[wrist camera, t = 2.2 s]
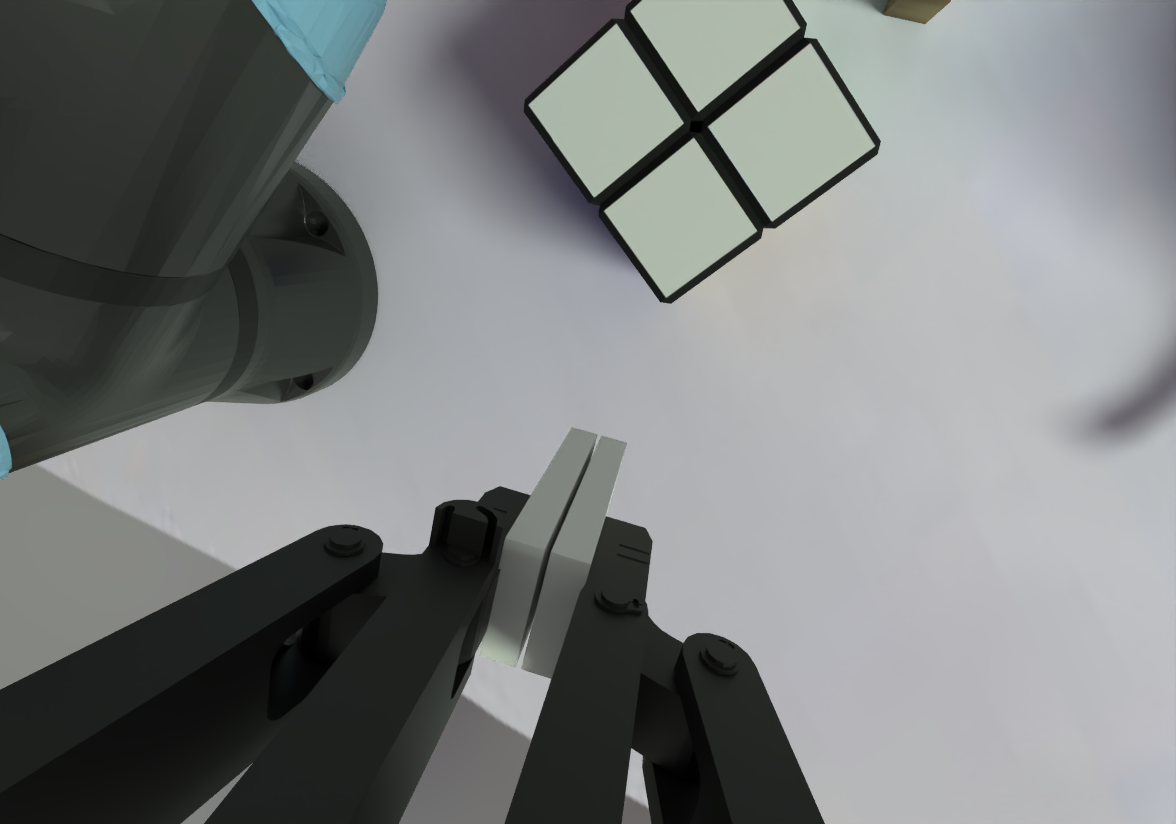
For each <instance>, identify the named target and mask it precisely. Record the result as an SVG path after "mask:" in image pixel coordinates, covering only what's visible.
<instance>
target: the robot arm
mask: <svg viewBox="0 0 1176 824" xmlns="http://www.w3.org/2000/svg"><path fill="white" fill-rule="evenodd" d="M386 1H387V0H0V480H3V479H4V478H5V477H7V476H8V473H11V472H14V471H16V470H19V469H22V468H25V467H27V466H30V465H33V464H36V463H38V462H41V461H44V460H47V459H49V458H52V457H55V456H58V455H60V454H63V453H66V452H69V451H71V450H74V449H77V448H80V447H82V446H85V445H88V444H91V443H93V442H96V441H99V440H102V439H104V438H107V437H110V436H113V435H116V434H118V433H121V432H124V431H127V430H129V429H132V428H135V427H138V426H140V425H143V424H146V423H149V422H151V421H154V420H157V419H160V418H162V417H165V416H168V415H171V414H173V413H176V412H179V411H182V410H184V409H187V408H189V407H192V406H195V405H198V404H200V403H203V402H230V403H254V404H275V403H283V402H288V401H293V400H296V399H300V398H303V397H305V396H307V395H310V394H312V393H314V392H317V391H319V390H321V389H324V388H326V387H328V386H330V385H332V384H333V383H335V382H336V381H338V380H339V379H341V378H342V377H343V376H344V375H345V374H347V373H348V372H349V371H350V370H351V369H352V367H353V366H354V365H355V364H356V363H357V361H358V360H359V359H360V357H361V356H362V354H363V352H364V351H365V349H366V347H367V345H368V342H369V340H370V338H371V335H372V332H373V329H374V324H375V320H376V314H377V305H378V286H377V277H376V271H375V265H374V262H373V258H372V254H371V251H370V248H369V245H368V243H367V240H366V238H365V236H364V234H363V232H362V229H361V227H360V226H359V224H358V222H357V220H356V219H355V217H354V216H353V214H352V212H351V211H350V210H349V208H348V207H347V205H346V204H345V203H344V202H343V200H342V199H341V198H340V197H339V196H338V195H337V194H336V193H335V191H334V190H333V189H332V188H331V187H329V186H328V185H327V184H326V183H325V182H324V181H323V180H321V179H320V178H319V177H318V176H316V175H315V174H313V173H312V172H310V171H309V170H307V169H306V168H304V167H302V166H301V165H299V164H297V163H294V161H295V160H296V158H297V157H298V155H299V154H300V152H301V150H302V149H303V147H304V146H305V144H306V142H307V141H308V139H309V138H310V136H311V135H312V133H313V132H314V130H315V129H316V127H317V126H318V124H319V123H320V121H321V120H322V118H323V117H324V115H325V114H326V112H327V111H328V109H329V108H330V106H331V105H332V103H333V102H335V103H337V104H338V103H339V101H340V100H341V99H342V98H343V97H344V95H345V93H346V92H345V85H344V84H345V82H346V80H347V78H348V76H349V74H350V73H351V71H352V69H353V67H354V65H355V64H356V62H357V60H358V58H359V56H360V54H361V53H362V51H363V49H364V47H365V45H366V43H367V42H368V40H369V38H370V36H371V34H372V33H373V31H374V29H375V27H376V25H377V23H378V22H379V20H380V18H381V16H382V14H383V12H384V9H385V6H386ZM596 438H597V434H594V433H590V432H587V431H584V430H580V429H577V428H573V427H572V428H571V430H570V431H569V433H568V435H567V436H566V438H565V440H564V441H563V443H562V445H561V446H560V448H559V450H558V451H557V453H556V455H555V456H554V458H553V460H552V461H551V463H550V465H549V466H548V468H547V470H546V471H545V473H544V475H543V476H542V478H541V480H540V481H539V483H538V485H537V486H536V488H535V490H534V491H533V493H532V494H531V495H528V494H524V493H521V492H518V491H514V490H511V489H507V488H504V487H501V486H500V487H497V488H495V489H493V490H490V491H488V492H485V493H484V495H483V496H482V497H481V499H480V500H479V501H478V502H476V501H471V500H452V501H448V502H444V503H442V504H440V505H439V506H437V507H436V509H435V514H434V520H433V525H432V531H431V537H430V542H429V546H428V547H427V548H426V550H425V551H424V552H423V553H422V554H416V555H404V554H393V553H382V549H383V542H382V540H381V538H380V537H379V536H378V535H377V534H375V533H374V532H373V531H371V530H369V529H366V528H363V527H360V526H355V525H335V526H328V527H325V528H322V529H320V530H317V531H315V532H313V533H311V534H309V535H307V536H305V537H303V538H301V539H299V540H297V541H295V542H293V543H291V544H289V545H287V546H285V547H283V548H281V549H279V550H277V551H275V552H273V553H271V554H269V555H267V556H265V557H263V558H261V559H259V560H257V561H255V562H253V563H251V564H249V565H247V566H245V567H243V568H241V569H239V570H237V571H235V572H233V573H231V574H229V575H228V576H226V577H224V578H222V579H219V580H217V581H216V582H214V583H212V584H210V585H208V586H206V587H204V588H202V589H200V590H198V591H196V592H194V593H192V594H190V595H188V596H186V597H184V598H182V599H180V600H178V601H176V602H174V603H172V604H170V605H168V606H166V607H164V608H162V609H160V610H158V611H156V612H154V613H152V614H150V615H148V616H146V617H144V618H142V619H140V620H138V621H136V622H134V623H132V624H130V625H128V626H126V627H124V628H122V629H120V630H118V631H116V632H114V633H112V634H110V635H108V636H106V637H104V638H102V639H101V640H98V641H96V642H94V643H92V644H90V645H88V646H86V647H84V648H82V649H80V650H78V651H76V652H74V653H72V654H70V655H68V656H66V657H64V658H62V659H61V660H59V661H57V662H55V663H53V664H51V665H49V666H47V667H45V668H43V669H41V670H39V671H37V672H35V673H33V674H31V675H29V676H27V677H25V678H23V679H21V680H19V681H17V682H15V683H13V684H11V685H9V686H7V687H5V688H3V689H1V690H0V824H181V823H182V822H183V821H184V820H185V819H187V818H188V817H189V816H190V815H191V814H193V813H194V812H195V811H196V810H197V809H198V808H199V807H201V806H202V805H203V804H204V803H206V802H207V801H208V800H209V799H210V798H211V797H213V796H214V795H215V794H216V793H217V792H219V791H220V790H221V789H222V788H223V787H224V786H226V785H227V784H228V783H229V782H230V781H232V780H233V779H234V778H235V777H236V776H238V775H239V774H240V773H241V772H242V771H243V770H245V769H246V768H247V767H248V766H249V765H251V764H252V763H253V764H252V765H251V766H250V767H249V769H248V770H247V771H246V772H245V774H244V775H243V776H242V777H241V779H240V780H239V781H238V782H237V784H236V785H235V786H234V787H233V788H232V790H231V791H230V792H229V793H228V795H227V796H226V797H225V798H224V800H223V801H222V802H221V803H220V805H219V806H218V807H217V808H216V810H215V811H214V812H213V813H212V815H211V816H210V817H209V818H208V819H207V821H206V822H205V823H204V824H399V822H400V820H401V817H402V815H403V813H404V811H405V809H406V807H407V805H408V803H409V801H410V799H411V797H412V795H413V793H414V791H415V788H416V786H417V784H418V782H419V780H420V778H421V776H422V774H423V772H424V770H425V768H426V765H427V763H428V761H429V759H430V757H431V755H432V753H433V751H434V749H435V747H436V745H437V743H438V741H439V739H440V736H441V734H442V732H443V730H444V728H445V726H446V724H447V722H448V720H449V718H450V716H451V714H452V712H453V709H454V707H455V705H456V703H457V701H458V699H459V697H460V695H461V693H462V691H463V689H464V687H465V685H466V682H467V680H468V678H469V676H470V674H471V670H472V665H473V661H474V656H475V653H476V651H477V649H478V647H479V645H480V643H481V641H482V644H481V649H480V653H479V655H480V656H483V657H486V658H489V659H492V660H495V661H498V662H501V663H504V664H507V665H510V666H514V667H516V664H517V662H518V659H519V657H520V654H521V652H522V649H523V647H524V644H525V642H526V639H527V637H528V634H529V632H530V629H531V627H532V629H531V632H530V636H529V640H528V644H527V648H526V652H525V656H524V660H523V664H522V668H521V669H523V670H526V671H529V672H532V673H535V674H538V675H541V676H544V677H548V678H551V682H550V685H549V689H548V692H547V695H546V698H545V701H544V704H543V707H542V710H541V713H540V716H539V719H538V722H537V725H536V729H535V732H534V735H533V738H532V741H531V744H530V747H529V750H528V753H527V756H526V759H525V763H524V765H523V769H522V772H521V775H520V778H519V781H518V784H517V787H516V790H515V793H514V796H513V799H512V802H511V805H510V808H509V812H508V815H507V818H506V821H505V824H621V823H622V815H623V807H624V799H625V792H626V784H627V776H628V768H629V760H630V753H631V748H632V749H634V750H635V751H637V752H638V753H640V754H641V755H643V764H642V768H643V774H644V781H645V787H646V793H647V799H648V805H649V811H650V816H651V823H652V824H825V823H824V821H823V819H822V816H821V814H820V812H819V809H818V807H817V805H816V803H815V800H814V798H813V796H812V793H811V791H810V789H809V787H808V784H807V782H806V780H805V778H804V775H803V773H802V771H801V768H800V766H799V764H798V762H797V759H796V757H795V755H794V752H793V750H792V748H791V746H790V743H789V741H788V739H787V736H786V734H785V732H784V730H783V727H782V725H781V723H780V720H779V718H778V716H777V714H776V711H775V709H774V707H773V704H772V702H771V700H770V698H769V695H768V693H767V691H766V688H765V686H764V684H763V682H762V679H761V677H760V675H759V672H758V670H757V668H756V666H755V664H754V662H753V661H752V659H751V658H750V656H749V655H748V654H747V653H746V652H745V651H744V650H743V649H741V648H740V647H739V646H738V645H737V644H735V643H733V642H731V641H730V640H728V639H726V638H724V637H721V636H717V635H714V634H711V633H696V634H694V635H691V636H689V637H687V639H686V640H685V642H684V643H682V642H680V641H678V640H677V639H675V638H673V637H671V636H670V635H668V634H667V633H665V632H664V631H662V630H661V629H660V628H659V627H658V626H657V625H655V624H654V622H653V621H652V620H651V618H650V617H649V616H648V608H647V603H646V602H645V598H646V590H647V582H648V574H649V564H650V558H651V556H650V555H651V550H652V542H653V541H652V539H651V537H650V536H649V534H648V532H647V530H646V528H643V527H640V526H637V525H633V524H630V523H627V522H623V521H620V520H617V519H613V518H610V517H607V513H608V509H609V505H610V502H611V498H612V495H613V491H614V488H615V484H616V481H617V477H618V474H619V470H620V467H621V463H622V459H623V456H624V452H625V449H626V445H627V443H625V442H622V441H618V440H615V439H611V438H608V437H604V436H601V438H600V440H599V443H598V445H597V447H596V450H595V452H594V454H593V456H592V453H593V449H594V446H595V442H596ZM591 457H592V459H591ZM532 624H533V625H532ZM482 639H483V640H482Z"/></svg>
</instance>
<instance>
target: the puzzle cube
mask: <svg viewBox="0 0 1176 824" xmlns="http://www.w3.org/2000/svg"><path fill="white" fill-rule="evenodd" d="M806 26H807V23H806V22H805V20H804V18H803V17H802V15H801V14H800V12H799V10H798V9H797V7H796V6H795V4H794V2H793V1H792V0H632V1H631V2H630V3H629V4H628V5H627V6H626V10H625V18H624V20H623V19H613V18H612V19H611V20H610V21H609V22H608V23H607V24H606V25H604V26H603V27H602V28H601V29H600V30H599V31H598V32H597V33H596V34H595V35H594V36H593V37H592V38H590V39H589V40H588V41H587V42H586V43H585V44H584V45H583V46H582V47H581V48H580V49H579V50H578V51H577V52H575V53H574V54H573V55H572V56H571V57H570V58H569V59H568V60H567V61H566V62H565V63H564V64H563V65H561V66H560V67H559V68H558V69H557V70H556V71H555V72H554V73H553V74H552V75H551V76H550V77H549V78H548V79H546V80H545V81H544V82H543V83H542V84H541V85H540V86H539V87H538V88H537V89H536V90H535V91H534V92H532V93H531V94H530V95H529V96H528V97H527V98H526V99H525V104H524V113H525V114H526V116H527V117H528V118H529V120H530V121H531V123H532V124H533V125H534V127H535V128H536V130H537V131H538V132H539V134H540V135H541V137H542V138H543V139H544V141H545V142H546V144H547V145H548V146H549V148H550V149H551V151H552V152H553V153H554V155H555V156H556V157H557V159H558V160H559V162H560V163H561V164H562V166H563V167H564V169H565V170H566V171H567V173H568V174H569V176H570V177H571V178H572V180H573V181H574V183H575V184H576V185H577V187H578V188H579V189H580V191H581V192H582V194H583V195H584V196H585V198H586V199H587V201H588V202H589V203H591V204H595V205H599V206H600V208H599V217H600V219H601V220H602V221H603V223H604V224H605V226H606V227H607V228H608V230H609V231H610V233H611V234H612V235H613V237H614V238H615V240H616V241H617V242H618V244H619V245H620V247H621V248H622V249H623V251H624V252H625V253H626V255H627V256H628V258H629V259H630V260H631V262H632V263H633V265H634V266H635V267H636V269H637V270H638V272H639V273H640V274H641V276H642V277H643V279H644V280H645V281H646V283H647V284H648V286H649V287H650V288H651V290H652V291H653V292H654V294H655V295H656V297H657V298H658V299H659V301H660V302H663V303H670V304H671V303H673V302H674V301H675V300H677V299H678V298H679V297H681V296H682V295H684V294H685V293H686V292H688V291H689V290H690V289H692V288H693V287H695V286H696V285H697V284H699V283H700V282H701V281H703V280H704V279H706V278H707V277H708V276H710V275H711V274H713V273H714V272H715V271H717V270H718V269H719V268H721V267H722V266H724V265H725V264H726V263H728V262H729V261H730V260H732V259H733V258H735V257H736V256H737V255H739V254H740V253H741V252H743V251H744V250H746V249H747V248H748V247H750V246H751V245H752V244H754V243H755V242H757V241H758V240H759V239H761V236H762V232H763V228H777V227H778V226H779V225H781V224H782V223H783V222H785V221H786V220H788V219H789V218H790V217H792V216H793V215H795V214H796V213H797V212H799V211H800V210H801V209H803V208H804V207H806V206H807V205H808V204H810V203H811V202H812V201H814V200H815V199H817V198H818V197H819V196H821V195H822V194H823V193H825V192H826V191H828V190H829V189H830V188H832V187H833V186H834V185H836V184H837V183H839V182H840V181H841V180H843V179H844V178H845V177H847V176H848V175H850V174H851V173H852V172H854V171H855V170H856V169H858V168H859V167H861V166H862V165H863V164H865V163H866V162H868V161H869V160H870V159H872V158H873V157H874V156H876V155H877V154H878V150H879V146H880V143H881V141H880V139H879V138H878V136H877V134H876V133H875V131H874V130H873V128H872V126H871V125H870V123H869V122H868V120H867V118H866V117H865V115H864V114H863V112H862V110H861V109H860V107H859V106H858V104H857V102H856V101H855V99H854V98H853V96H852V95H851V93H850V91H849V90H848V88H847V87H846V85H845V83H844V82H843V80H842V79H841V77H840V75H839V74H838V72H837V71H836V69H835V67H834V66H833V64H832V63H831V61H830V59H829V58H828V56H827V55H826V53H825V51H824V50H823V48H822V47H821V45H820V43H819V42H818V40H817V39H812V38H804V35H805V30H806Z"/></svg>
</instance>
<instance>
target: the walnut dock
mask: <svg viewBox="0 0 1176 824" xmlns="http://www.w3.org/2000/svg"><path fill="white" fill-rule="evenodd" d="M950 2H951V0H889V1H888V3H887V6H886V9H885V12H884V15H887V16H891V17H896V18H900V19H905V20H910V21H914V22H919V23H923V24H926V23H927V22H928V21H929V20H930V19H931V18H932V17H934V16H935V15H936V14H937V13H938V12H939V11H940V10H942V9H943V8H944V7H945V6H946V5H947V4H948V3H950Z"/></svg>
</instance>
